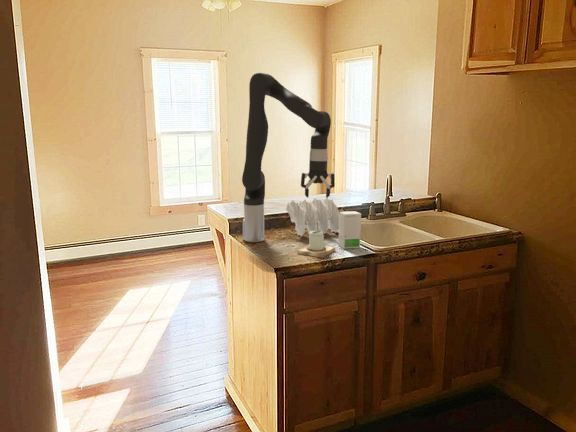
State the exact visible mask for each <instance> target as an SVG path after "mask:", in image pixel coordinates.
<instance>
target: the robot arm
mask: <svg viewBox="0 0 576 432" xmlns="http://www.w3.org/2000/svg"><path fill="white" fill-rule="evenodd" d="M248 92H249V93H248V94H249V95H248V96H249V99H248V100H249V106H248V120H247V129H246V143H245V145H246V146H245V161H244V167H243V171H242V177H241V182H242V186H243V187H244V189H245V191H244V196H243V197H244V198H243V215H244V217H243V220H242V240H243V241H245V242H249V243H260V242H263V241H264V240H265V197H266V177H265V174H264V172H263V171H262V163H263V161H262V160H263V157H264V154H265V153H264V152H265V150H266V146H267V143H268V135H269V123H268V118H267V115H266V110H265V102H266V101H265V99H266V96H267V97H270V98H273V99H275V100H277V101H278V102H280V103H281V104H282V105H283V106H284V107H285V108H286V109H287V110H288V111H290V112H291V113H293V114H294V115H296V116H297V117H298V118H300V119H302V120H303V122H304V123H306V124H307V125H308V126H309V127H311V128H312V129H313V128H314V133H313V134H312V135H311V137H310V151H309V165H308V167H309V168H308V170H309V171H308V173H307V172H306V173H305V172H301V177H300V187H301V188H302V189H303V188H304V196H305V197H306V198H309V196H310V195H309V194H310V191H309V190H310V189H309V188H310V186H311V185H312V184H324V186H326V189H325V197H326V198H328V199H329V196H331V189H333V188H335V183H336V182H335V173H333V172H331V173H328V159H329V158H328V138H329V134H330V131H331V130H330V129H331V124H332V120H331V119H332V118H331V116H330V114H329V113H328V112H327V111H324V110H317V109H315V108H313V106H312V105H311V103H310V102H308V101H307V100H305V99H303V98H302V97H300V96H298V95H297V94H295V93H294V92H292V91H291V90H289V89H287V88H286V87H285V86H284V85H282V84H281V83H280V82H279V81H278V80H277V79H276V78H275V77H274V76H272V75H271V74H269V73H265V72H255V73H253V74H252V76H251V77H250V79H249V89H248ZM307 177H308V178H309V180H308V181H307V183H306V184H305V180H306V179H307ZM328 177H329V179H330V184H329V183H328V182H327V178H328Z"/></svg>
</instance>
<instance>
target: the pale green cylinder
mask: <svg viewBox="0 0 576 432" xmlns="http://www.w3.org/2000/svg"><path fill="white" fill-rule="evenodd" d="M324 237H325V235H324V233H323V232H322V231H321V230H319V229H318V230H317V231H310V232H309V234H308V244H309V249H311V250H322V249H324V246H325V245H324V240H325V239H324Z"/></svg>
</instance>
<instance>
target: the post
mask: <svg viewBox="0 0 576 432" xmlns="http://www.w3.org/2000/svg"><path fill="white" fill-rule="evenodd" d="M335 249H336V247H334V246H329V245H324V249H322V250H311V249H309V243H308V244H306V245H305V246H303V247H301V248H298V249H297V250H296V253H297V255H304V256H310V257H317V258H322V259H323V258H325V257H327V256H328V255H330V254H331V253H333V252H335Z"/></svg>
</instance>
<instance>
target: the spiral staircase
mask: <svg viewBox="0 0 576 432" xmlns="http://www.w3.org/2000/svg"><path fill="white" fill-rule="evenodd" d="M333 200H334V199H329V197H328V198H327V197H326V198H325V199H324V200H323V199H322V200H321V199H317V198H315V197H314V199H313V200H312V201H307V200H306V199H304V200H303V201H299V202H295V201H294V199H293V200H291V201H290V202H287V205H286V209H285V210H286V211H287V213H288V215H289V216H290V221H291V223H294V224H295V228H294V230H295V231H296V232H297V235H296V236H300V238H302V237H303V236H304V234H305V233H306V230H307V234H308V235H309V232H310V231H317V229H318V230H321V231H322V232H323V235H324V234H326V233H327V232H328V230H329V229H330V232H331V233H333V232H334V234H336V233H337V232H339V212H340V211H339V208H338V206H337V204H336V203H335V202H334V201H333Z"/></svg>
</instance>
